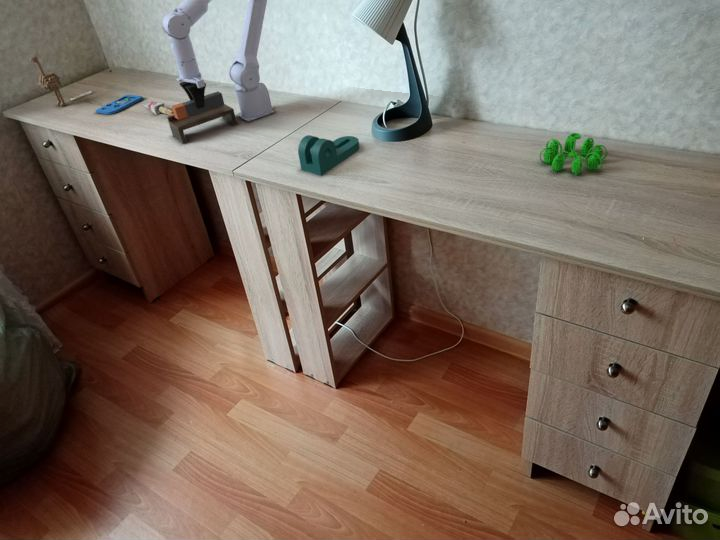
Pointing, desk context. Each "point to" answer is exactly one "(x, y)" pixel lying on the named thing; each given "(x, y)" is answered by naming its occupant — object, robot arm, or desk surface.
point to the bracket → (325, 153)
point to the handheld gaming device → (119, 104)
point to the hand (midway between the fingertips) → (198, 106)
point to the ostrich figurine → (51, 83)
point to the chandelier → (573, 154)
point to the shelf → (200, 120)
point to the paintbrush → (157, 108)
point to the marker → (190, 108)
